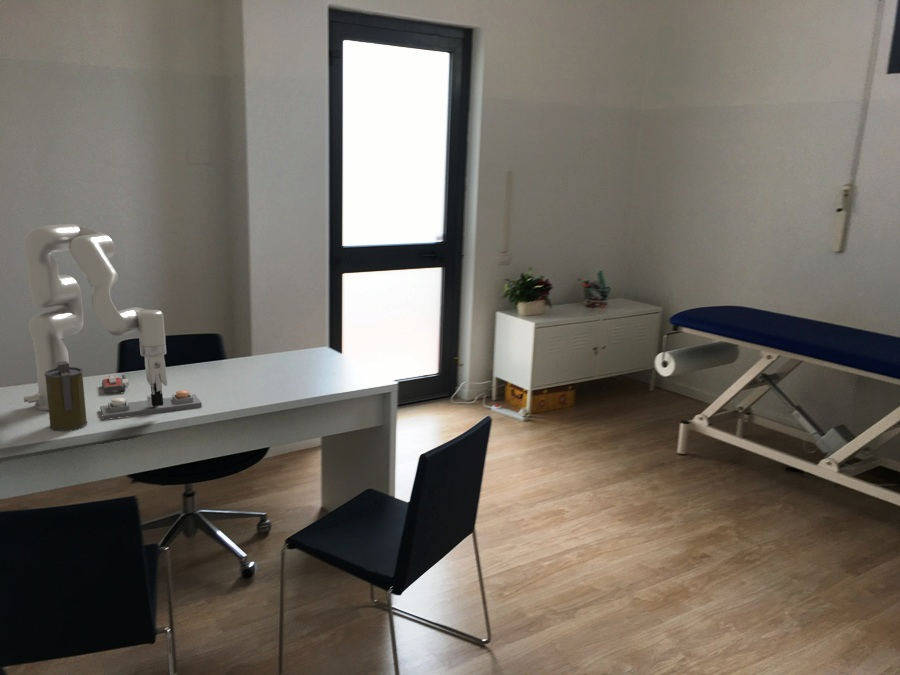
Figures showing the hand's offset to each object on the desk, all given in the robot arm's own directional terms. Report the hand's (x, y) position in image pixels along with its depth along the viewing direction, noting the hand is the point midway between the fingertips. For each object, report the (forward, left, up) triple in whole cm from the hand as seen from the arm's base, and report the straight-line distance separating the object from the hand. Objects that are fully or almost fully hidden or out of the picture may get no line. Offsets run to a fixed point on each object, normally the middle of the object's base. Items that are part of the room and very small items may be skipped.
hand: (157, 405), depth 235 cm
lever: (0, +7, -3) cm, 8 cm away
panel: (0, +10, -4) cm, 11 cm away
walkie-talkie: (-8, +41, -5) cm, 42 cm away
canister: (-25, +4, -5) cm, 26 cm away
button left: (-10, +10, -2) cm, 15 cm away
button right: (+10, +10, -2) cm, 14 cm away
